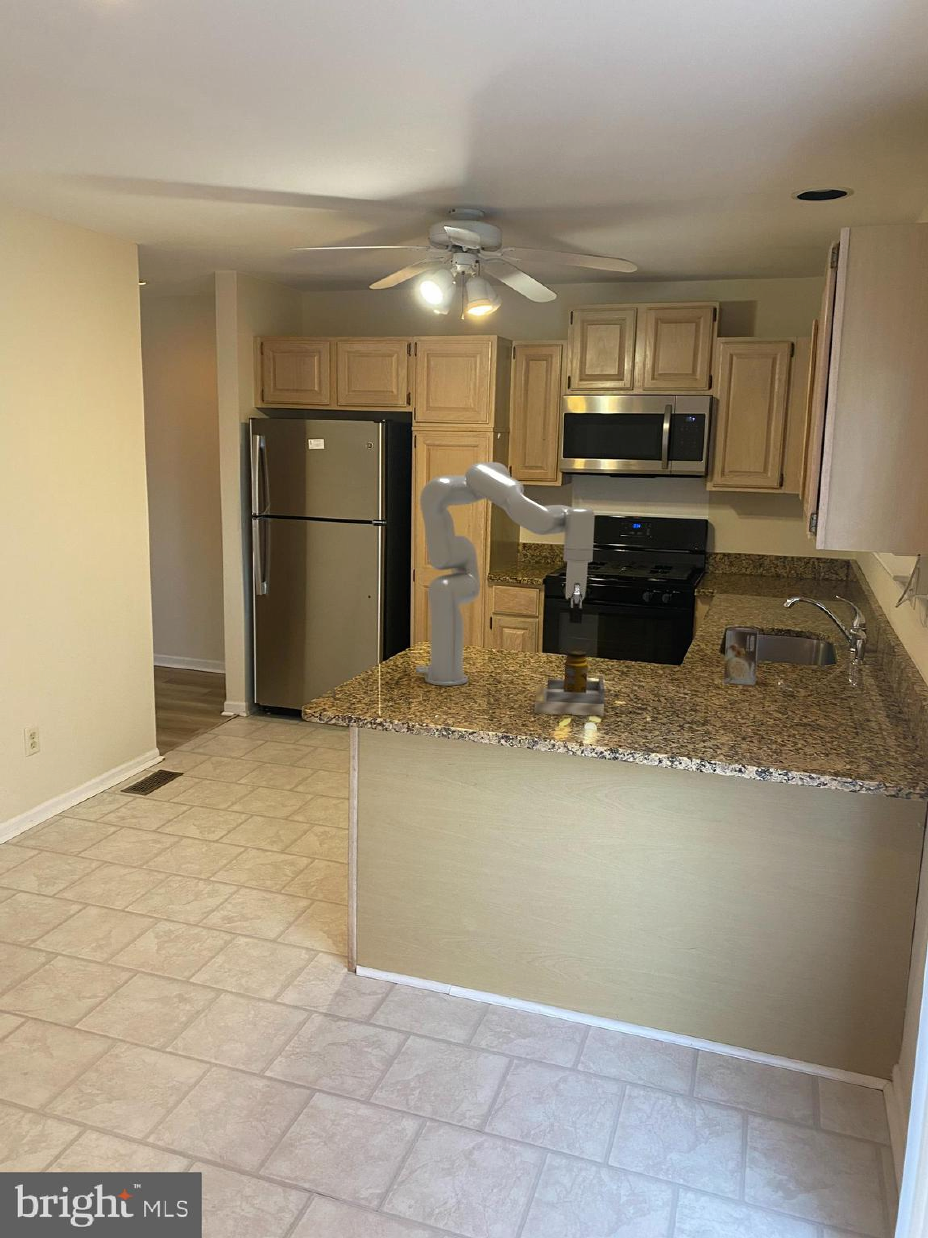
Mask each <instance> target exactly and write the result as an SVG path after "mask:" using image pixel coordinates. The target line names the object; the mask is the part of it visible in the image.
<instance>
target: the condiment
mask: <svg viewBox="0 0 928 1238" xmlns="http://www.w3.org/2000/svg"><path fill="white" fill-rule="evenodd" d="M565 659H566V661H565V662H564V677H563V680H564V692H573V693H586V686H587V685H586V684H587V681H588V662H587V652H585V651H584V650H580V649H579V650H576V649H575V650H567V652H566V658H565Z"/></svg>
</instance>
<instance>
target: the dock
mask: <svg viewBox="0 0 928 1238" xmlns="http://www.w3.org/2000/svg"><path fill="white" fill-rule="evenodd" d="M586 685H587V686H586V693H573V692H564V679H558V678H557V679H556V678H555V679H554V678H547V685H546V686H545V685H544V684H536V689H535V697H534V710H533V711H534V714H546V715H565V714H572V715H573V716H587V715H601V716H600V717H604V713H605V683H604V676H603V675H598V680H587V684H586ZM572 715H571V716H572Z"/></svg>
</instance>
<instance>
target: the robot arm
mask: <svg viewBox="0 0 928 1238" xmlns="http://www.w3.org/2000/svg"><path fill="white" fill-rule="evenodd" d="M524 491H525V488H524V484H523V483H522V482H520V481H519V480H517V479H516V478H514V477H511V473H510V471H509V468H507V467H506V466H505V464H502V463H500V462H496V461H494V462H492V461H491V462H489V461H487V462H485V461H484V462H477V463H474V464H472V465H471V466H469V467H468V468H467V470H466V472H465V474H458V475H441V476H438V477H434V478H432V479H431V480H429V481H428V482H427V483H426V484H425V485H424V487H423V488H422V490H421V494H420V499H419V502H420V503H419V504H420V510H421V515H422V519H423V525H424V534H425V541H426V543H425V544H426V549H427V550H426V551H427V557H428V562H429V565H430V566H431V567H432V568H433V569H435V570H438V571H447V570H450V571H451V573H448V574H443V575H439V576H437V577H435V578H434V579H432V580H431V581H430V583H429V586H428V588H427V600H428V605H429V611H430V664H429V665H426V666H424V665H416V667H415V673H418V674H422V675H423V674H426V675H425V677H424V680H425V682H426V683H428V684H431V685H435V686H444V687H445V686H447V687H448V686H459V685H463V684H466V683H467V682H468V680H469V677H468V675H466V674H464V673H463V671H464V670H463V669H464V665H463V663H464V662H463V661H464V659H463V657H464V618H463V615H462V612H461V609H460V606H462V605H466V604H470V603H472V602H474V601H475V600H476V599H477V598H478V597H479V594H480V591H481V582H480V572H479V566H478V557H477V552H476V547H475V545H474V543H473V541H471V539H469V538H468V537H466V536H465V535H456V531H455V523H454V519H453V516H452V515H451V512H450V511H449V510H448V508H449V507H451V506H462V505H464V506H465V505H470V504H474V503H476V502H479V501H482V500H484V499H486V500H488V501H489V502H491V503H493V504H495V505H496V506H498V507H499V508H501V509H503V510H504V511H505V512H506V514H507V515H508V517H509V518H510V519H511V520H512V521H513V522H514V523H516V525H519V526H520V527H521V528H524V529H525V530H527V531H529V532H531V533H533V534H536V535H537V536H538V535H539V536H548V535H555V534H564V536H563V537H564V539H563V540H564V541H563V561H564V562H567V564H566V575H565V577H566V580H565V599H566V600H569V599H570V600H569V610H568V611H569V614H568V615H569V623H570V624H582V623H583V605H582V604H583V602H582V601H583V600H584V599H585V595H586V591H587V589H586V588H587V582H588V581H587V580H588V579H587V577H588V566H589V565H588V563H591V562H593V553H594V538H595V537H594V532H595V512H594V510H593V509H592V508H589V507H572V506H568V505H563V504H552V505H550V504H549V505H540V504H538V503H536V502H535V501H533V500H531V499H530V498H528V497H526V496H525V495H524Z"/></svg>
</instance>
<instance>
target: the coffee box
mask: <svg viewBox="0 0 928 1238" xmlns="http://www.w3.org/2000/svg"><path fill="white" fill-rule="evenodd" d="M759 633H760V629H757V628H748V627H747V628H746V627H733V626H728V627H727V629H726V633H725V650H724V651H725V653H724V666H723V667H724V668H723V683H725V684H734V685H735V684H736V685H746V686H755V685H756V683H757V667H758V652H759V651H758V648H759Z"/></svg>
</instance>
